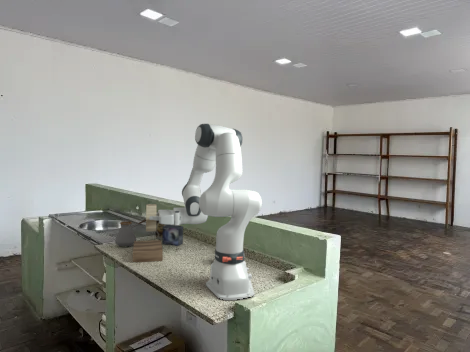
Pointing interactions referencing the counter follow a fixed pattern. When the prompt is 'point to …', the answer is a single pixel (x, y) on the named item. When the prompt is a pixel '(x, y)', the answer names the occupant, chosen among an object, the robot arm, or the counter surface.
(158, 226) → the coffee box
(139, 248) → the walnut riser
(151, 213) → the birch block
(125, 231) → the coffee pot
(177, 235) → the small box
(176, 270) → the counter surface
